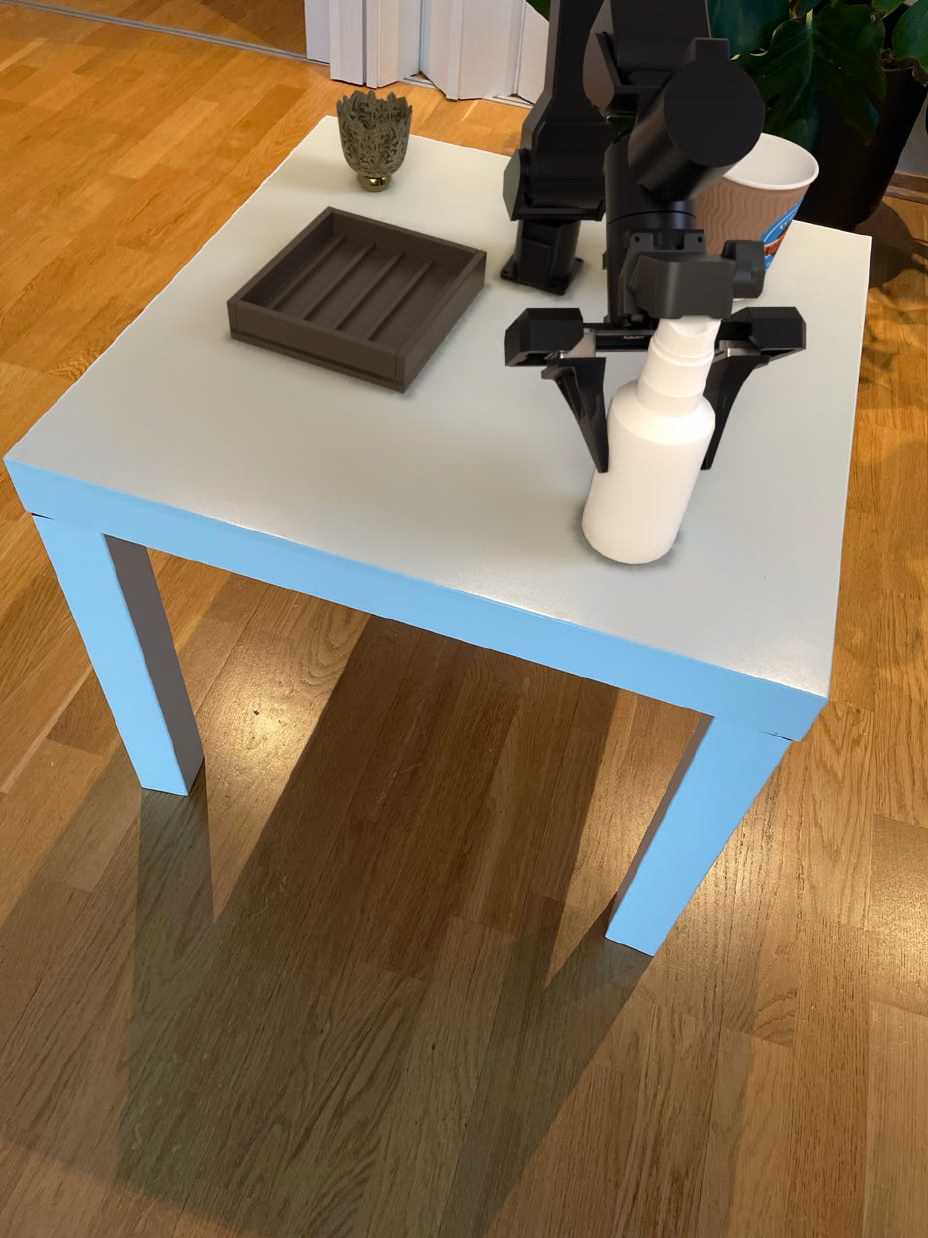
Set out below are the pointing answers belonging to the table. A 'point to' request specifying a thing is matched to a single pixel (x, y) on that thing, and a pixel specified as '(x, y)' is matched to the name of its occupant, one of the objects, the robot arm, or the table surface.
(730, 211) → the coffee cup
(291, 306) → the ribbed square tray
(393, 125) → the cup
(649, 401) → the spray bottle
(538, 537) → the table surface
